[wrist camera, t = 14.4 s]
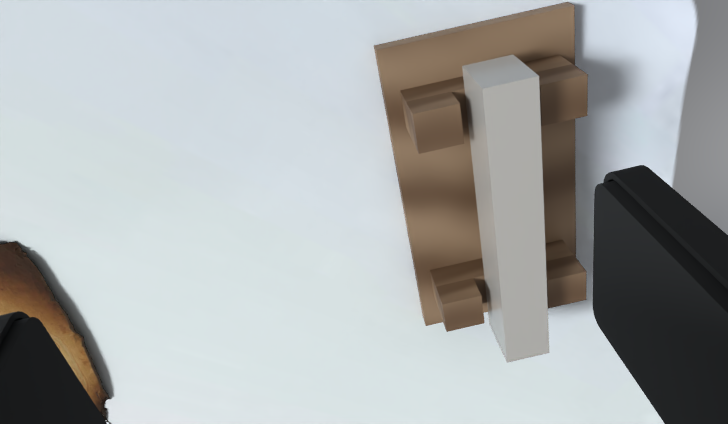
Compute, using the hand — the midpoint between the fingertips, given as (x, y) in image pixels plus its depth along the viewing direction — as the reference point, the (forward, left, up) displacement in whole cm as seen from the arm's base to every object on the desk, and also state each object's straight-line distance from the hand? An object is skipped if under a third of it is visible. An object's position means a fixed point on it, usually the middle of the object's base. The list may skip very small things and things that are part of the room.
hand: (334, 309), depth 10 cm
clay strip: (+15, +10, -25) cm, 31 cm away
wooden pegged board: (+15, +10, -28) cm, 33 cm away
